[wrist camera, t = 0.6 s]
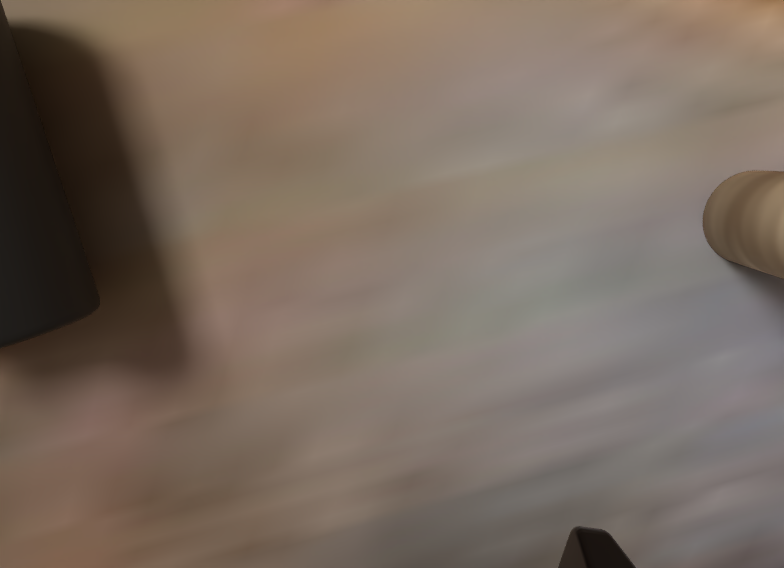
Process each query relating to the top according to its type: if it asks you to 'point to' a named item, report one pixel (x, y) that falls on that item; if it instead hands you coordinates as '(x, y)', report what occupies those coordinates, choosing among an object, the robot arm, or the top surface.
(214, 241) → the top surface
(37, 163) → the end cap
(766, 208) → the slotted cylinder
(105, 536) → the top surface
